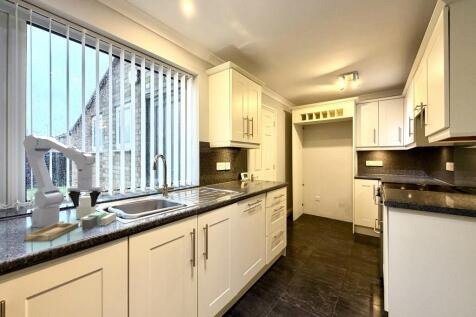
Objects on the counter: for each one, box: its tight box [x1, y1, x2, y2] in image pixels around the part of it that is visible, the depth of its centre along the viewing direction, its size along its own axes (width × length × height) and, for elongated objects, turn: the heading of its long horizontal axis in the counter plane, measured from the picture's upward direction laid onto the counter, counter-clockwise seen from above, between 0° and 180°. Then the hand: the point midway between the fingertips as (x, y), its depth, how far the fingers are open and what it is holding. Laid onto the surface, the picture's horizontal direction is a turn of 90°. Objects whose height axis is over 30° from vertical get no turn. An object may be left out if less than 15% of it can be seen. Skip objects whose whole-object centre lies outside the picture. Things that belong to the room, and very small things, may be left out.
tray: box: [23, 222, 80, 242], centre depth 89 cm, size 10×16×2 cm, turn 5°
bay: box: [79, 212, 117, 227], centre depth 105 cm, size 12×10×4 cm
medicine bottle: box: [75, 194, 96, 220], centre depth 114 cm, size 7×7×12 cm
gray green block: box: [81, 211, 107, 231], centre depth 101 cm, size 5×12×5 cm, turn 5°
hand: (84, 206), depth 99 cm, fingers open, 7 cm apart
